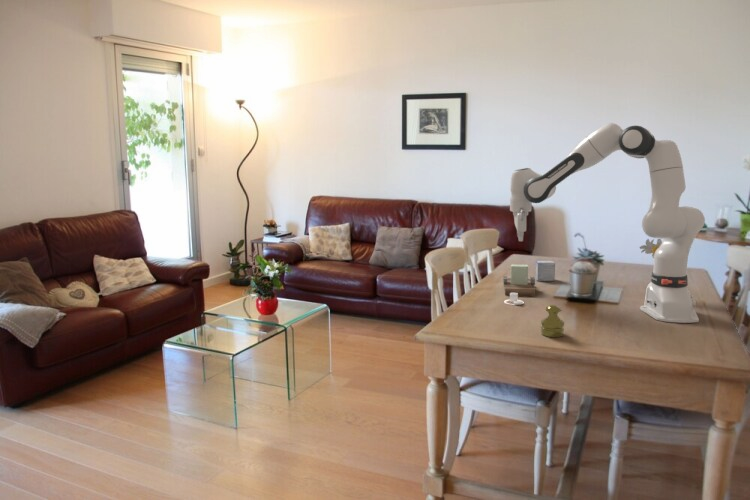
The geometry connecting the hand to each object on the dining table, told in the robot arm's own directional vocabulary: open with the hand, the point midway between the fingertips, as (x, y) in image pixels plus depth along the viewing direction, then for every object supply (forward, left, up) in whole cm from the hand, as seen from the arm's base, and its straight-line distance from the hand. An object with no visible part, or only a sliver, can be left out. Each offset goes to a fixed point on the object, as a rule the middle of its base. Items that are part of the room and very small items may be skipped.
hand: (519, 239), depth 246 cm
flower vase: (-4, -56, -23) cm, 61 cm away
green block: (0, 0, -20) cm, 20 cm away
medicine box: (+20, -13, -23) cm, 33 cm away
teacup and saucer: (-22, +5, -23) cm, 32 cm away
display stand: (0, 0, -23) cm, 23 cm away
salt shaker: (-57, -8, -23) cm, 62 cm away
